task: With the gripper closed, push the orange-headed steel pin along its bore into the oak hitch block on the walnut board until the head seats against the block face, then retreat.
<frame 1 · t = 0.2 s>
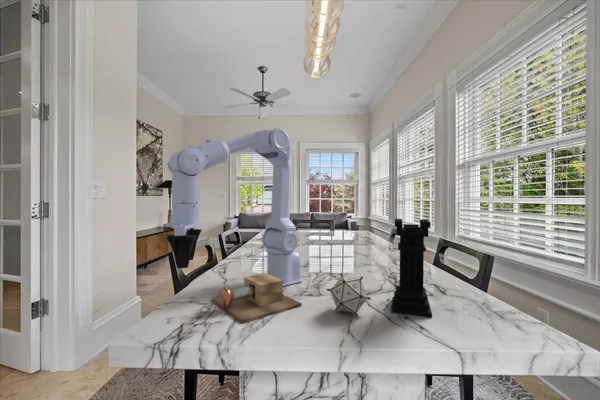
hand: (185, 263, 64), 10 cm above the table, fingers open, 7 cm apart
chess piece: (410, 309, 64), on the table
game die: (348, 313, 62), on the table
hitch block: (255, 302, 67), on the table
pin: (244, 292, 65), point 3 cm above the table, slide at 0.0 cm
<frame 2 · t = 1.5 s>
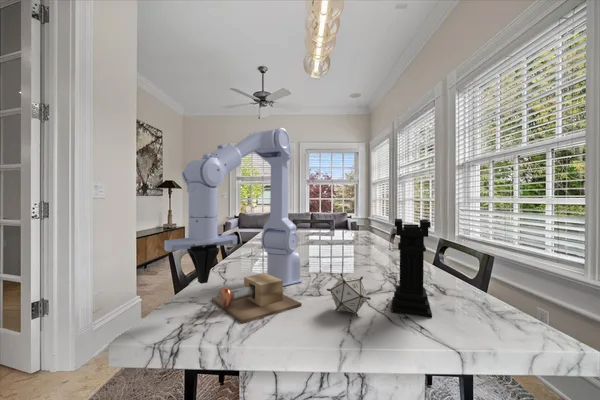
hand: (202, 282, 59), 7 cm above the table, fingers closed
nothing on the table moved.
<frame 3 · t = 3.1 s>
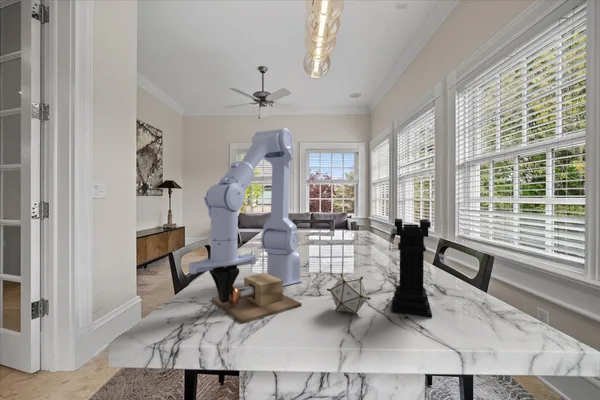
hand: (224, 301, 62), 2 cm above the table, fingers closed
pin: (250, 291, 66), point 3 cm above the table, slide at 1.6 cm, touching gripper
everything else where it was.
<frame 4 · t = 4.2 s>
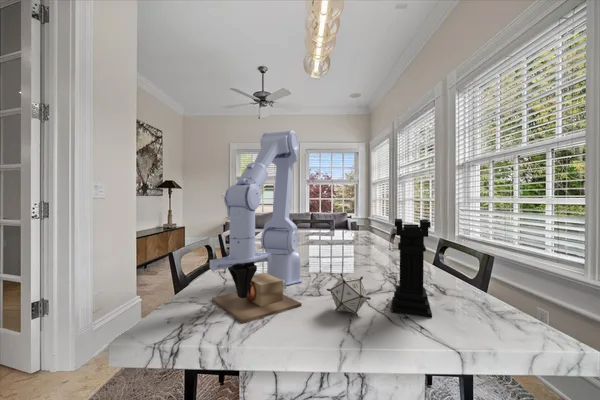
hand: (242, 296, 64), 2 cm above the table, fingers closed
pin: (266, 287, 68), point 3 cm above the table, slide at 6.0 cm, touching gripper
everything else where it was.
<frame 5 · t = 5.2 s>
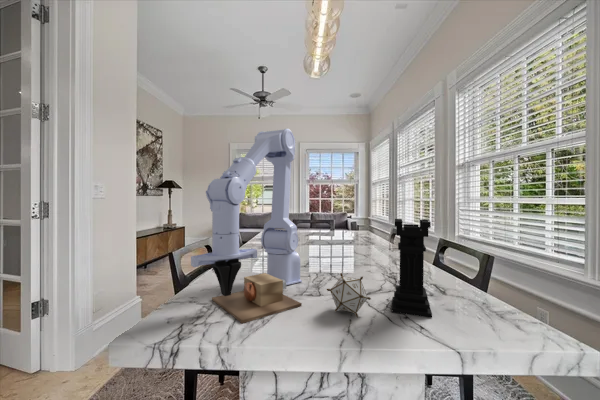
hand: (226, 294, 62), 4 cm above the table, fingers closed
pin: (266, 287, 68), point 3 cm above the table, slide at 6.0 cm
everything else where it was.
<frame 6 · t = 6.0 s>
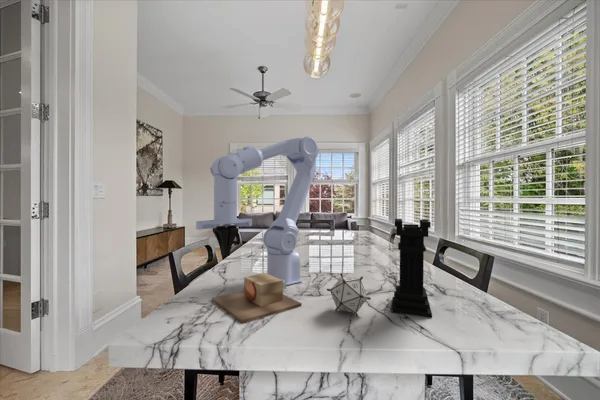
hand: (225, 255, 73), 10 cm above the table, fingers closed
nothing on the table moved.
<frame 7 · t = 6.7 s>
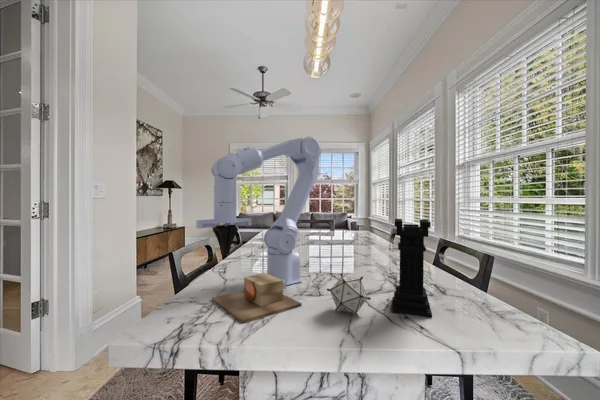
hand: (225, 254, 74), 10 cm above the table, fingers closed
nothing on the table moved.
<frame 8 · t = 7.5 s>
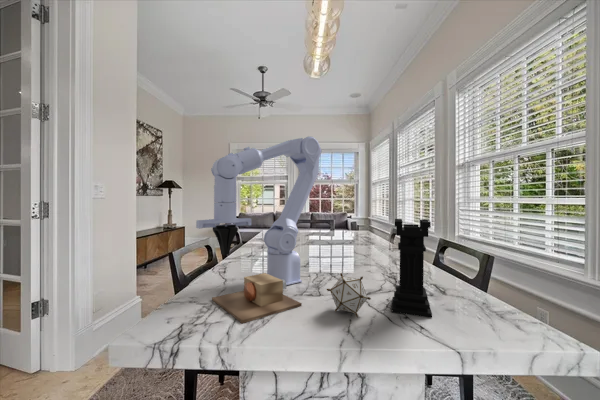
hand: (225, 254, 74), 10 cm above the table, fingers closed
nothing on the table moved.
at the end: pin slide at 6.0 cm; the gripper is holding nothing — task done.
